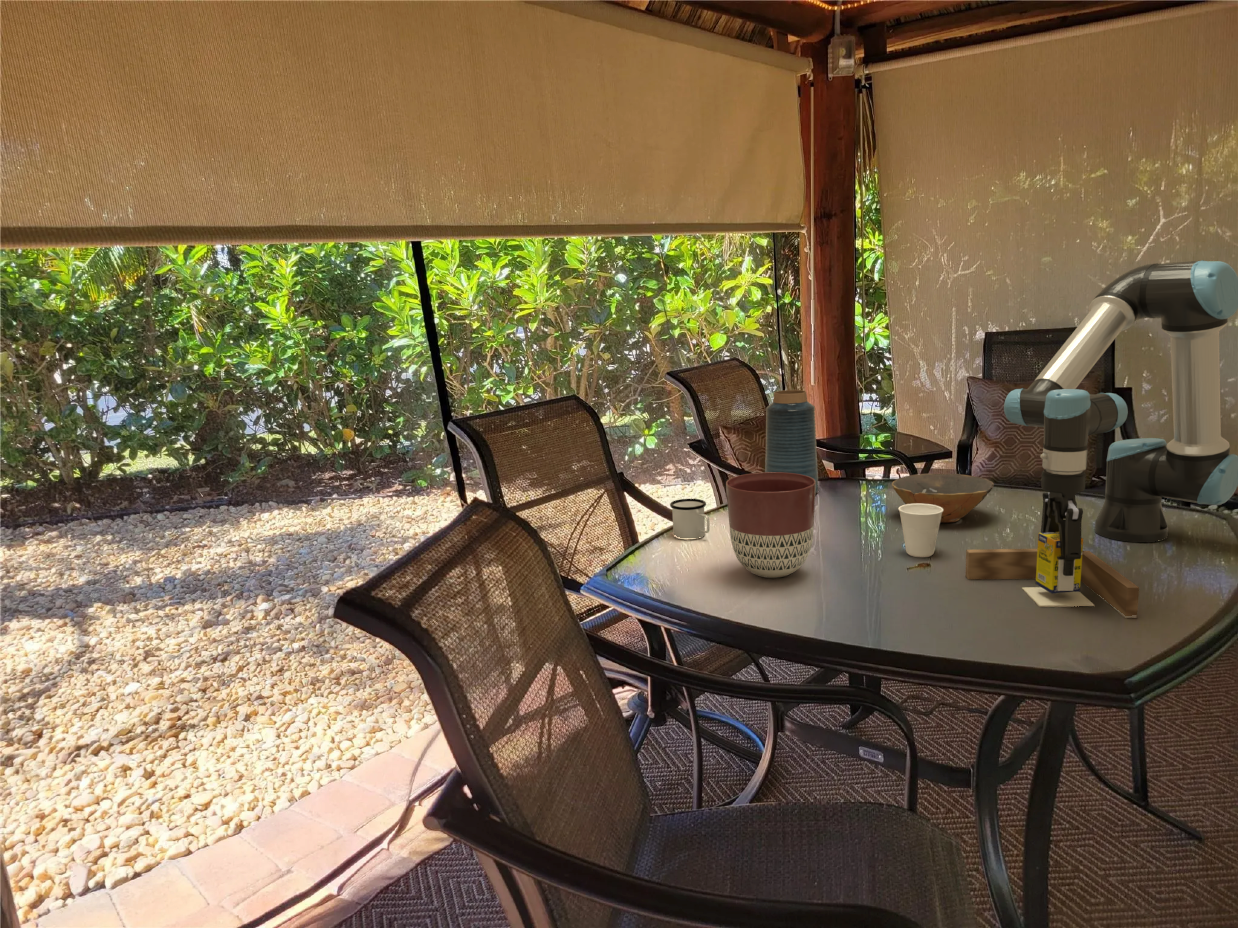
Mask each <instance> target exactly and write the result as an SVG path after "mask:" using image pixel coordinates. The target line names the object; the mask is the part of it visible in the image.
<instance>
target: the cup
mask: <svg viewBox="0 0 1238 928" xmlns="http://www.w3.org/2000/svg"><path fill="white" fill-rule="evenodd" d="M898 511H899V515H900V521H901V528H902V534H903V540H904V546H905V553H906V554H908V555H909V556H911V557H915V558H928V557H931V556H932V555H934V553H935V549H936V543H937V538H938V533H939V530H940V525H941V522H940V521H941V516H942V512H943V511H944V510H943V508H941V507H939V506H936V505H932V504H922V503H915V504H903V505H900V506H899V507H898Z"/></svg>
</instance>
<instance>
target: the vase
mask: <svg viewBox="0 0 1238 928" xmlns="http://www.w3.org/2000/svg"><path fill="white" fill-rule="evenodd" d="M772 399H773V400H772V403H770V404H769V405H768V406H766V408H765V411H766V413H765V416H766V417H765V420H766V421H765V459H764V462H765V465H764V468H765V469H764V472H784V473H795V474H801V475H805V476H809V477H811V478H813V479H814V480H815V481H816V490H815V495H816V494H817V493H818V492H819V475H818V474H819V469H818V458H817V456H818V455H817V437H816V436H817V433H816V412H815V411H816V408H815V405H814V404H812V403H811V402H809V400H808V395H807V391H806V390H801V389H788V390H787V389H786V390H785V389H784V390H778V391H774V392H773V398H772Z"/></svg>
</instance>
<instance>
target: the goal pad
mask: <svg viewBox="0 0 1238 928" xmlns="http://www.w3.org/2000/svg"><path fill="white" fill-rule="evenodd" d="M1021 590H1022V591H1024V593H1025V594H1026V595H1028V597H1029V598H1030V599H1031V600H1032V601H1033V602H1034V603H1036V606H1038V607H1040V608H1053V607H1054V608H1058V607H1059V608H1063V607H1065V608H1071V607H1072V608H1075V607H1077V606H1078V607H1079V606H1094V607H1095V604H1094V603H1093V602H1091V600H1090V599H1088V598H1087V597H1086V596H1085V595H1084V594H1083V593H1081V591H1080V592H1065V593H1055V594H1052V593H1050V592H1048V591H1047V590H1045V589H1043V588H1042V587H1040V586H1039V587H1038V586H1035V587H1033V586H1031V587H1025V586H1024V587H1021ZM1074 606H1075V607H1074ZM1079 608H1080V607H1079Z"/></svg>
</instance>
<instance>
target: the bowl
mask: <svg viewBox="0 0 1238 928" xmlns="http://www.w3.org/2000/svg"><path fill="white" fill-rule="evenodd" d="M994 485H995V484H994V482H993V481H991V480H989V479H987V478H984V477H979V476H974V475H968V474H960V473H918V474H910V475H906V476H902V477H899V478H897V479H895V480H894V481H892V483H891V486H892V488H893V490H894V491H895V493H896V494H897V495H898V497H899V498H900V499H901V501H902V502H903V503H904V505H906V504H915V503H922V504H932V505H936V506H939V507H941V508H943V510H944V511H943V512H942V516H941V521H940V523H955V522H959V521H960V520H961V519H962V518H964V517H965V516H966V515H967V514H969V513H970V512H972V511H973V510H974V509H975V508H976V507H977V506H978V505H979V504H980V503H981V502H983V500H984V499H985V498H986V497H987V495H988V494H990V492H991V491H992V490H993V488H994V487H995V486H994Z"/></svg>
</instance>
